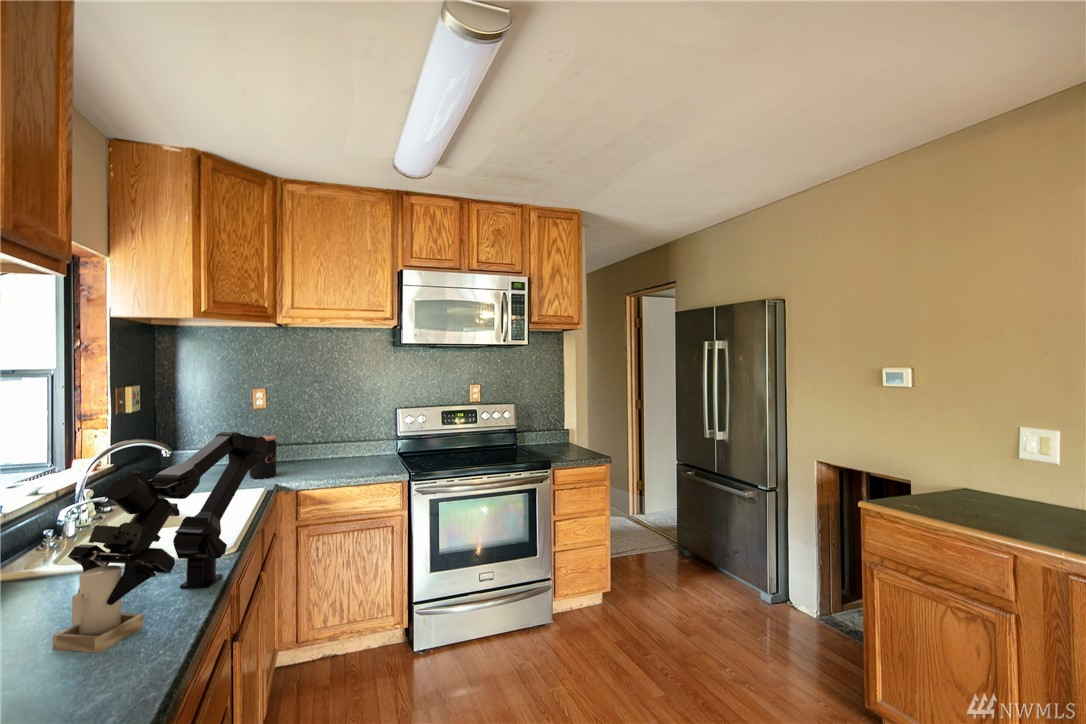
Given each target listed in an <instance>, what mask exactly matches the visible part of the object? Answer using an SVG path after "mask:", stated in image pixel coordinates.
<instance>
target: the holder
mask: <svg viewBox="0 0 1086 724" xmlns="http://www.w3.org/2000/svg"><path fill="white" fill-rule="evenodd" d="M143 628H144V614H143V613H129V612H121V625H119V626H117V627H115V628H113V629H111V630H110V631H108V632H106V633H104V634H102V635H100V636H88V635H79V624H73V625H72V626H70V627H68V628H65V629H63V630H61V631H59V632H57V633H55V634H54V635H52V650H57V651H70V652H71V651H72V652H84V653H96V654H99V653H101V652H103V651H104V650H106V649H108V648H110V647H112V646H113V645H114V644H117V643H118V642H119V641H122V640H123V639H125V638H126V637H128V636H131V635H132V634H134V633H135V632H137V631H138V630H141V629H143Z"/></svg>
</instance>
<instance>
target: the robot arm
mask: <svg viewBox="0 0 1086 724" xmlns="http://www.w3.org/2000/svg"><path fill="white" fill-rule="evenodd" d="M261 436H262V435H259V436H257V435H255V436H254V435H253V436H252V435H246V434H242V433H239V432H237V431H221V432H219V433H217V434H216V436H215V437H214V438H213V439H211V441H209V442H208V443H207V444H205V445H204V446H202V448H200V449H199V450H198V451H196V452H195V453H194V454H192V456H190V457H189V458H187V459H186V460H185V461H183V462H181V463H179V464H175V465H173V466H169V467H167V468H165V469H163V470H161V471H160V472H157V473H156V474H155V475H154V477H152V478H151V479H148V478H146V476H145V475H144V473H143V472H141V471H130V473H129V474H128V475H127V476H124V477H122V478H120V479H118V480H117V481H115V482H114V483H112V484H111V485H110V486H109V487H108V489H107V491H106V498H107V499H108V500H109V501H111V502H112V503H113V504H114V505H116V506H117V507H119V508H120V509H121V510H122V511H123V512H124V513H125V514H128V515H133V516H132V517H131V519H130V520H129V522H123V523H122V524H120V525H119V526H116V525H115V526H114V525H97V524H96V525H94V527H93V529H92V532H91V534H90V537H89V539H88V543H89V544H78V545H75V546H74V547H73V548H72V550H71V551H70V552H69V554H68V555H67V557H68V558H69V559H70V560H72V561H74V562H75V563H77V564H79V565H80V566H82V573H83V572H85V571H87V570H90V569H93V568H97V567H102V566H109V564H122V565H123V564H124V570H123V573H122V574H121V578H120V580H119V582H118V583H117V585H116V586H115V588H114V590H113V591H112V593H111V595H110V597H109V599H108V601H107V604H108V605H113V604H114V603H115V602H117V601H118V600H119V599H121V600H122V598H123V597H124V596H126V595H127V594H129V593H130V592H131V591H133V590H134V589H136V588H137V587H138V586H140V585H141V584H143V583H144V582H146V581H147V580H148V579H150V578H155V577H156V576H157V574H168V575H169V574H170V573H171V572H172V571H173V568H175V567H174V566H175V565H176V562H175V561H176V560H175V559H176V558H175V557H173V556H172V555H171V554H170V553H168V552H167V551H166V550H164V549H163V548H160V547H159V548H158V547H156V548H155V547H151V546H152V544H153V542H156V543H158V542H159V541H160V539H162V537H161V536H160V535H159V533H160V532H161V530H162V528H163V527H164V526H165V524H166V522H167V521H168V519H169V518H170V517H179V516H180V510H179V508H178V507H179V506H178V505H179V504H178V503H171V502H170V501H169V500H168V499H174V500H185V499H187V498H188V497H190V496H191V495H192V494H193V493H194V491H195V490H196V489H197V488H198V487H199V485H200V481H201V478H202V477H203V476H204V474H205V473H207V472H208V471H209V470H211V469H212V468H213V467H214V466H215V465H216V464H217V463H219V462H220V461H221V460H222V459H223V458H225V456H227V455H228V456H227V457H228V463H227V465H226V466H225V468H224V470H223V472H222V473H221V475H220V477H219V479H218V480H217V482H216V484H215V485H214V487H213V489H212V491H211V492H210V494H209V495H208V497H207V499H206V500H205V502H204V504H203V505H202V507H201V508H200V510H199V512H198V513H197V514H195V515H194V516H185V517H184V518H183V519H182V522H181V524H180V525H179V527H177V529H176V530H175V532H174V533H175V535H174V537H173V540H172V541H173V542H172V543H173V544H172V545H173V547H174V550H175V553H176V556H177V559H178V560H179V559H180V560H181V559H182V560H183V559H184V560H185V559H186V560H187V561H186V562H187V563H186V581H184V582H183V583H182V584H181V583H180V585H179V588H180V589H185V588H186V589H188V588H189V589H194V588H196V589H197V588H209V587H211V586H212V585H213V584H215V583H216V582H218V581H219V580H220V579H221V578H222V577H223V574H221V573H219V574H218V573H217V559H220V558H222V557H223V555H225V554H226V551H227V549H228V544H227V543H226V542H225V541H223V540H222V539H221V538H220V536H221V533H222V527H221V520H222V517H223V516H224V515H225V512H226V510H227V509H228V507H229V505H230V503H231V502H232V500H233V498H234V497H235V495H236V493H237V491H238V489H239V487H240V486H241V484H242V482H243V480H244V479H245V477H246V475H247V473H248V471H250V469H251V468H252V467H254V466H255V465H257V464H258V463H259V462H260V461H261V460H262V458H263V457H264V456H265V454H266V453H267V451H268V442H267V441H266V439H265V438H264V437H261ZM94 543H98V544H103V545H102V547H103V548H105V549H106V550H109V551H106V550H104V549H103V548H101V547H100V546H99V545H96V544H94ZM79 589H80V586H79V588H78V591H77V594H78V593H79Z"/></svg>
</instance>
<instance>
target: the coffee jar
mask: <svg viewBox="0 0 1086 724" xmlns="http://www.w3.org/2000/svg"><path fill="white" fill-rule="evenodd" d="M260 436H261V437H264V438H265V439H266V441H267V442H268V451H267V453H266V454H265V456H264V457H263V458H262V460H261V461H260V462H259V463H258V464H257V465H255V466H254V467H252V468H251V469H249V477H250V478H251V479H252V478H253V479H252V480H265V479H264V478H267V479H271V478H270V477H272V478H275V476H276V474H277V441H276V440H277V436H275V435H263V436H262V435H260Z"/></svg>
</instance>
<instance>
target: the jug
mask: <svg viewBox="0 0 1086 724" xmlns="http://www.w3.org/2000/svg"><path fill="white" fill-rule="evenodd" d="M121 577H122V566H120V565H116V564H115V565H108V566H102V567H97V568H93V569H90V570H87V571H85V572H83V571H82V573H80V574H79V587H80V589H79V588H78V591H79V593H78V592H77V593H75V594H74V595H72V596H71V624H73V625H75V624H79V635H88V636H100V635H102V634H104V633H106V632H108V631H110V630H111V629H113V628H115V627H117V626H119V625H121V613H122V610H121V609H122V598H121V599H119V600H118V601H117V602H115V603H114V604H113V605H108V604H107V601H108V599H109V597H110V595H111V593H112V591H113V590H114V588H115V586H116V585H117V583H118V582H119V580H120V578H121Z"/></svg>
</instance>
